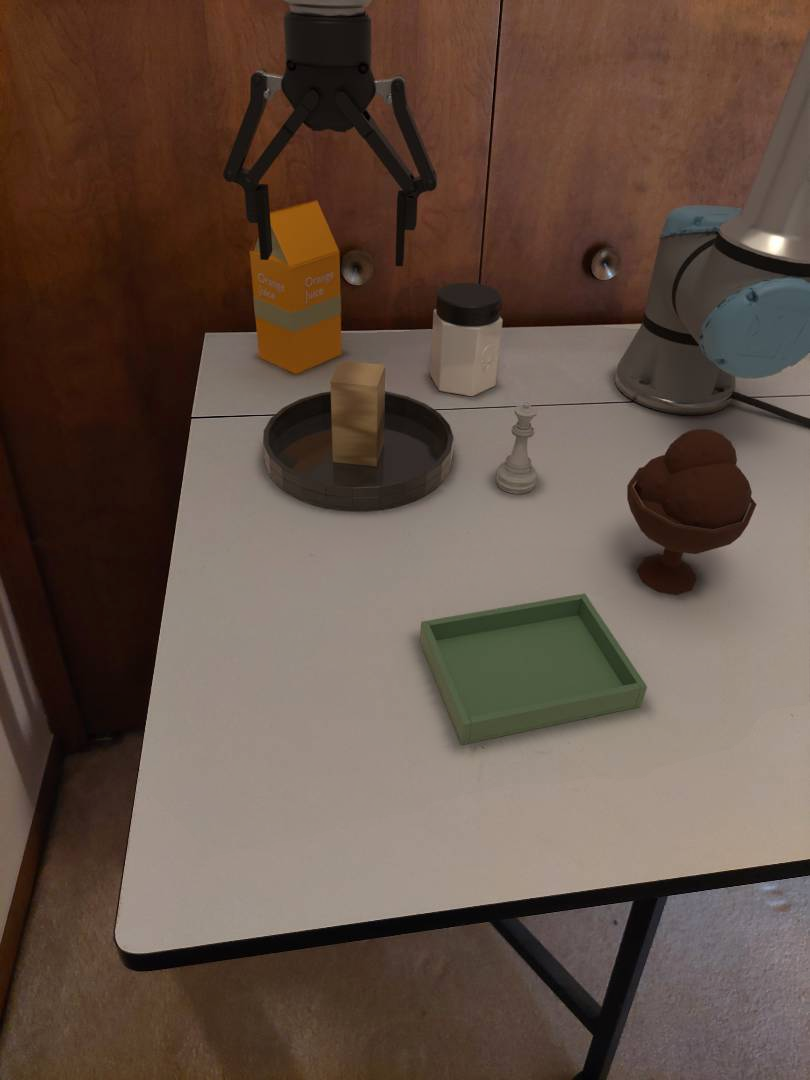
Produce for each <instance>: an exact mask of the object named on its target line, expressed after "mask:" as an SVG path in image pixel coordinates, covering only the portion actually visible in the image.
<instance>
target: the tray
mask: <svg viewBox="0 0 810 1080" xmlns="http://www.w3.org/2000/svg"><path fill="white" fill-rule="evenodd" d="M419 643H420V646H421V648H422V650H423V654H424V656H425V659H426V660H427V663H428V665H429V668H430V670H431V673H432V675H433V678H434V680H435V682H436V683H435V684H436V685H437V688H438V690H439V693H440V695H441V698H442V700H443V702H444V703H443V704H444V705H445V708H446V710H447V713H448V715H449V718H450V721H451V723H452V726H453V727H454V730H455V733H456V735H457V738H458V740H459V742H460V745H463V746H464V745H467V744H471V743H476V742H481V741H487V740H491V739H496V738H499V737H504V736H505V737H506V736H509V735H514V734H519V733H523V732H524V733H525V732H528V731H533V730H537V729H542V728H546V727H547V728H548V727H552V726H557V725H561V724H565V723H571V722H576V721H580V720H585V719H589V718H593V717H599V716H603V715H608V714H613V713H617V712H622V711H627V710H631V709H637V708H641V707H642V704H643V701H644V697H645V694H646V692H647V689H648V686H647V684H646V682H645V681H644V680H643V678H642V677H641V675H640V674H639V671H638V670H637V669H636V667H635V666H634V664H633V663H632V662H631V660H630V658H629V657H628V656H627V654H626V653H625V651H624V650H623V648H622V647H621V646H620V643H619V642H618V640H617V639H616V638H615V636H614V635H613V633H612V631H611V630H610V629H609V627H608V625H607V624H606V623H605V621H604V620H603V618H602V617H601V615H600V614H599V612H598V611H597V609H596V608H595V606H594V605H593V603H592V602H591V600H590V599H589V598H588V595H587V594H586V593H585V592H584V593H580V594H573V595H567V596H562V597H561V596H560V597H556V598H550V599H545V600H539V601H538V600H537V601H532V602H528V603H527V602H526V603H521V604H515V605H510V606H505V607H504V606H503V607H498V608H492V609H487V610H480V611H475V612H469V613H463V614H457V615H452V616H446V617H440V618H434V619H429V620H423V621H422V620H421V621H420V634H419Z"/></svg>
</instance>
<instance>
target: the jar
mask: <svg viewBox="0 0 810 1080" xmlns="http://www.w3.org/2000/svg"><path fill="white" fill-rule="evenodd" d="M502 301H503V296H502V293H501V292H500V291H499V290H497V289H496V288H494V287H491V286H489V285H486V284H482V283H476V282H454V283H449V284H447V285H443V286H442V287H440V288H439V289H438V291H437V293H436V308H434V309H433V313H432V315H433V316H432V334H431V350H430V351H431V352H430V368H429V369H430V370H429V375H430V377H431V379H432V381H433V383H434V384H435V386H436V388H437V390H438V391H439V392H443V393H449V394H456V395H461V396H466V397H467V396H468V397H474V396H476V395H479V394H481V393H483V392H485V391H488V390H489V389H492V388H494V387H495V386H496V384H497V375H498V366H499V357H500V347H501V340H502V331H503V330H502V329H503V322H504V321H503V317H501V312H502V307H503V302H502Z"/></svg>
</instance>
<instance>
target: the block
mask: <svg viewBox="0 0 810 1080" xmlns="http://www.w3.org/2000/svg"><path fill="white" fill-rule="evenodd" d="M332 375H333V376H332V377H331V379H330V383H329V384H330V391H331V417H332V452H333V462H338V463H347V464H356V465H365V466H375V467H377V464H378V461H379V458H380V454H381V451H382V448H383V445H384V416H385V391H386V364H379V363H369V362H357V361H347V360H339V363H338V365H337V367H336V369H335V371H334V373H333V374H332Z"/></svg>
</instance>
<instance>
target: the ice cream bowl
mask: <svg viewBox="0 0 810 1080" xmlns="http://www.w3.org/2000/svg"><path fill="white" fill-rule="evenodd" d="M737 463H738V457H737V451H736V449H735V447H734V445H733V443H732V441H731V440H729V439H728V438H727V437H726V436H725V435H723V434H722V433H719V432H718V431H715V430H713V429H710V428H695V429H691V430H688V431H685V432H684V433H681V434H680V435H679V436H678V437H677V438H676V439H675V440H674V441H673V442H671V443H670V444H669V446H668V447H667V449H666V451H665V453H664V454H663V455H659V456H656V457H654V458H651V459H650V460H649V461H648V462H647V463H646V464H645V465H644V466H642V467H639V468H637V470H636V472H635V473H634V475H633V476H632V477H631V479H630V481H629V482H628V484H627V487H626V499H627V503H628V506H629V510H630V512H631V514H632V517H633V518H634V520H635V522H636V523H637V526H638V528H639V530H640V531H641V532H642V534H644V536H646V538H647V539H649V540H651V541H652V542H654V543H656V544H658V545H659V546H661V547H663V548H664V550H663V553H656V554H651V555H648V556H645V557H644V558H643V559H642V561H641V563H639V566H638V567H637V569H636V572H637V574H638V576H639V577H640V580H641V582H642V583H643V584H645V585H646V586H648V587H649V588H651V589H653V590H654V591H656V592H657V593H665V594H670V595H676V596H677V595H681V594H684V593H687V592H690V591H692V590H693V588H694V586H695V584H696V582H697V575H696V573H695V571H694V569H693V567H692V566H691V564H690V563H688V562H686V561H684V560H683V556H684V555H683V554H688V555H699V554H702V553H705V552H708V551H712V550H715V549H719V548H723V547H725V546H729V545H732V544H733V543H734V542H735V541H737V540H738V539H739V538H740V537H741V536H742V534H743V533H744V531H745V530H746V529H747V527H748V526H749V523H750V521H751V520H752V516H753V514H754V512H755V510H756V507H757V505H758V504H757V503H756V502H755V500H754V499H753V497H752V494H753V492H752V487H751V484H750V481H749V480H748V478H747V477H746V476H745V474H744V472H743V471H742V470H741V468H739V466H737Z"/></svg>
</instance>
